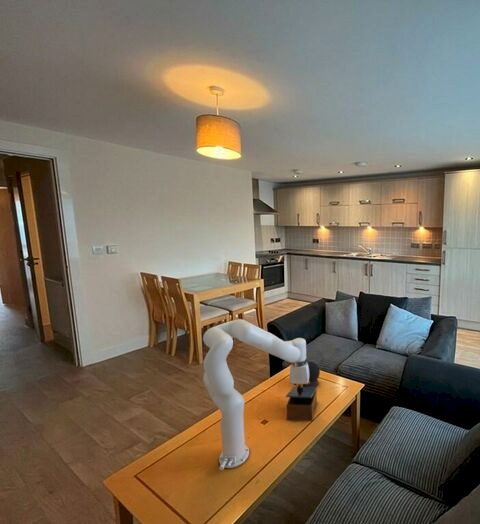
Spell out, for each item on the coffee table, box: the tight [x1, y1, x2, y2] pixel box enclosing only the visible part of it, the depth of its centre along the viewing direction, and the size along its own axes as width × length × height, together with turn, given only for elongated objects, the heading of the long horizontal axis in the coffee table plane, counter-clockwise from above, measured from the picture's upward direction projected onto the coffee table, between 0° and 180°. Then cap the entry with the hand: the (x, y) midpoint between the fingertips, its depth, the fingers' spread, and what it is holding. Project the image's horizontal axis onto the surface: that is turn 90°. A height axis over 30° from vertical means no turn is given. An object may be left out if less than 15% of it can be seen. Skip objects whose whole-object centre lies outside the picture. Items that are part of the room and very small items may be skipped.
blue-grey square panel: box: [285, 386, 318, 398], centre depth 159 cm, size 16×14×1 cm
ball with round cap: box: [304, 361, 321, 388], centre depth 185 cm, size 13×13×15 cm
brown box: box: [286, 388, 318, 422], centre depth 160 cm, size 16×14×9 cm
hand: (300, 393), depth 154 cm, fingers closed
